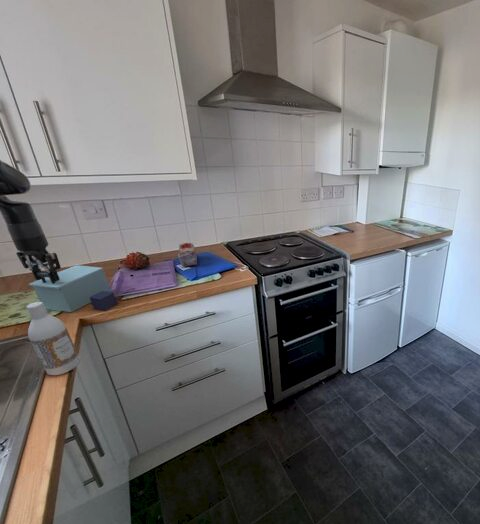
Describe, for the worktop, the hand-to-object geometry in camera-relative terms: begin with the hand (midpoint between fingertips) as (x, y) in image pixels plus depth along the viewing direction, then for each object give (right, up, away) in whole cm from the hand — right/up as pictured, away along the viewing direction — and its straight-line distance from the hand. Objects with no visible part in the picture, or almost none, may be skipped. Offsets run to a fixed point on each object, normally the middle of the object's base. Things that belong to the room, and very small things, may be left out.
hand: (48, 280), depth 104 cm
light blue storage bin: (+1, -8, +11) cm, 13 cm away
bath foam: (+27, -23, -22) cm, 42 cm away
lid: (+1, +1, +6) cm, 6 cm away
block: (+15, -10, +6) cm, 19 cm away
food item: (+26, +6, +44) cm, 51 cm away
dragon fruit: (+5, +3, +37) cm, 38 cm away
